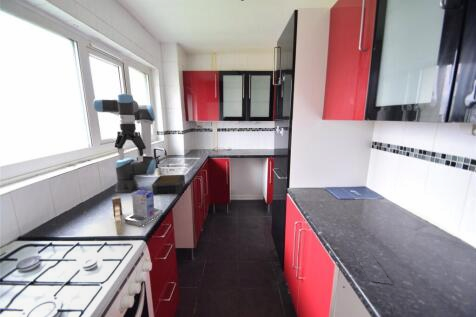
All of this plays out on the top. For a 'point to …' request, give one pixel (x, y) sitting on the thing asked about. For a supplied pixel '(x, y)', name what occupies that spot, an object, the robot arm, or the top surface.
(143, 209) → the ink cartridge box
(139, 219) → the index tray
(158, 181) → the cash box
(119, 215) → the door edge board
